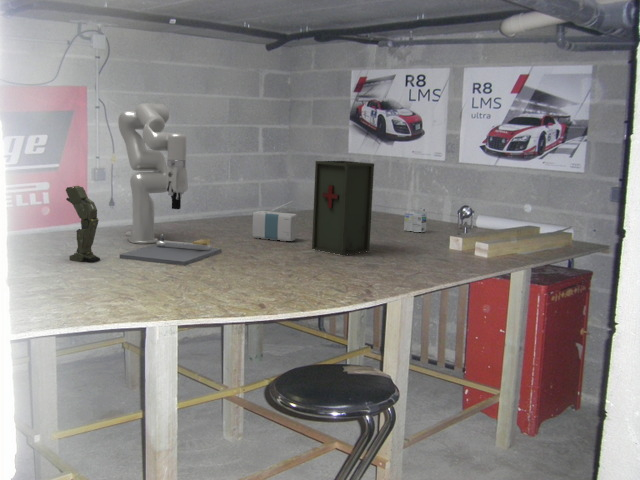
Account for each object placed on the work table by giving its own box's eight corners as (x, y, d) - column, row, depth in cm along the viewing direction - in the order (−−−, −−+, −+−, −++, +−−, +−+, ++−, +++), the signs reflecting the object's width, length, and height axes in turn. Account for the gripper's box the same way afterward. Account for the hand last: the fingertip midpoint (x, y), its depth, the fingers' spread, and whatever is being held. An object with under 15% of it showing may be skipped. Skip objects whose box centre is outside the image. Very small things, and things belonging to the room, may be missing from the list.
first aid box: (369, 251, 308) (374, 163, 302) (342, 256, 295) (347, 163, 288) (338, 245, 320) (342, 160, 314) (311, 249, 307) (315, 161, 300)
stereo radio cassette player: (251, 238, 330) (252, 197, 327) (259, 236, 337) (260, 196, 334) (290, 243, 322) (292, 201, 319) (297, 240, 330) (299, 199, 327)
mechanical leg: (110, 258, 264) (94, 182, 261) (98, 262, 257) (81, 184, 254) (81, 263, 268) (65, 188, 266) (69, 266, 262) (52, 190, 259)
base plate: (119, 258, 270) (119, 254, 270) (161, 246, 300) (161, 242, 300) (184, 265, 262) (184, 261, 261) (221, 252, 292) (221, 248, 291)
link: (154, 246, 289) (154, 234, 288) (159, 244, 294) (159, 233, 293) (206, 250, 284) (207, 239, 283) (211, 249, 288) (211, 237, 288)
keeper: (192, 251, 283) (192, 241, 282) (203, 247, 292) (203, 238, 291) (199, 252, 282) (199, 242, 281) (210, 248, 291) (210, 239, 290)
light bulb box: (426, 232, 375) (427, 213, 373) (421, 233, 369) (422, 214, 368) (408, 230, 381) (409, 211, 379) (403, 231, 375) (404, 212, 373)
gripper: (175, 165, 269) (174, 211, 272) (193, 164, 283) (193, 207, 286) (158, 164, 271) (158, 210, 274) (177, 163, 285) (177, 206, 288)
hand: (176, 208), depth 280 cm, fingers closed
